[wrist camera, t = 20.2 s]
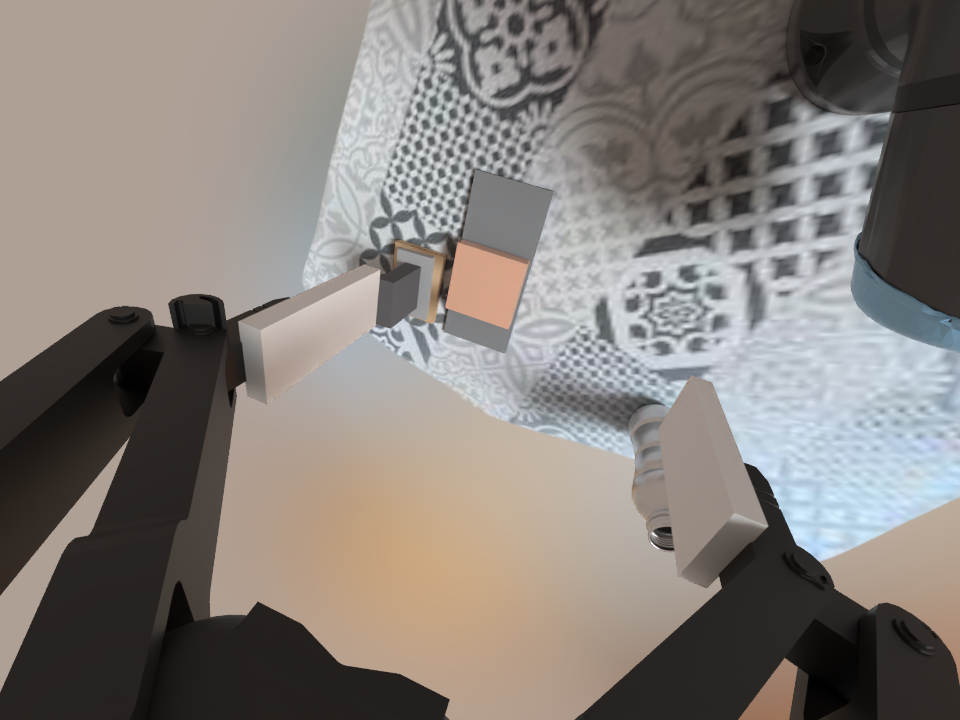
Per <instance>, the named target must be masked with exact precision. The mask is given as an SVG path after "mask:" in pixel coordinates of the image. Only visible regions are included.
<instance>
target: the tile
mask: <svg viewBox="0 0 960 720" xmlns="http://www.w3.org/2000/svg"><path fill="white" fill-rule="evenodd" d="M529 263H530V260H527V259H524V258H521V257H518V256H515V255H511V254H508V253H505V252H502V251H499V250H496V249H493V248H489V247H486V246H483V245H480V244H477V243H474V242H470V241H467V240H464V239H463V240H461V241H459V242H458V244H457V249H456V254H455V260H454V265H453V270H452V275H451V281H450V286H449V291H448V296H447V302H446V307H445V308H447V309H450V310H453V311H456V312H459V313H462V314H465V315H468V316H470V317H473V318H476V319H479V320H482V321H485V322H488V323H491V324H493V325H496V326H499V327H502V328H505V329H509V327H510V325H511V324H512V320H513V317H514V314H515V310H516V307H517V303H518V300H519V297H520V293H521V290H522V287H523V283H524V280H525V276H526V273H527V270H528V266H529Z"/></svg>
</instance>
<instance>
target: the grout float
mask: <svg viewBox="0 0 960 720" xmlns="http://www.w3.org/2000/svg"><path fill="white" fill-rule="evenodd" d="M434 263H435V257H434V256H431V255H427V254H424V253H420V252H417V251H413V250H410V249H406V248H403V247H400V248H398V249H397V262H396V268H395V269H393V270H391V271H389V272H387V273H385V274H383V275H382V276H380V281H379V293H378V304H377V315H376V324H378V325H381V326H384V327H387V328H390V329H391V328H392V327H393V326H394V325H396V324H397V323H398V322H399V321H401V320H402V319H403V318H405V317H406V316H407V315H409V316H413V317H416V318H419V319H422V320H426V319H427V318H428V311H429V303H430V295H431V287H432V279H433V271H434Z"/></svg>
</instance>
